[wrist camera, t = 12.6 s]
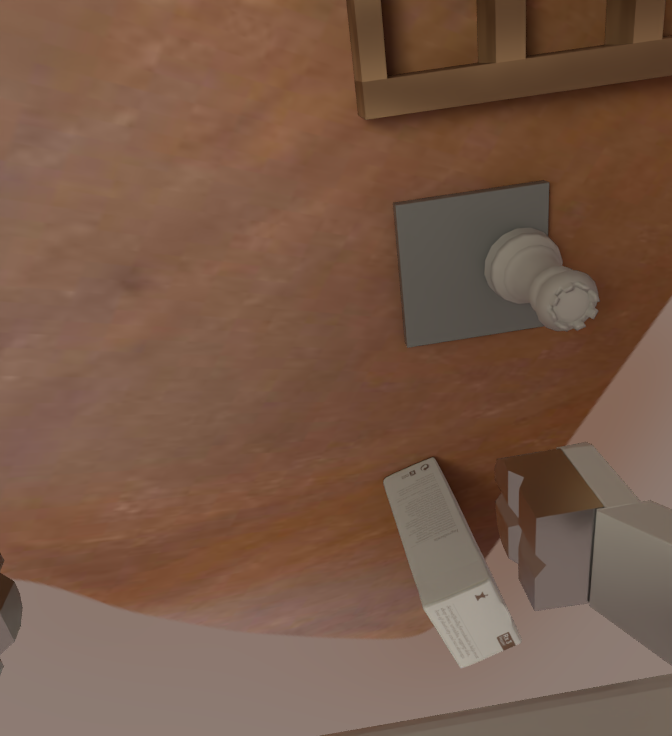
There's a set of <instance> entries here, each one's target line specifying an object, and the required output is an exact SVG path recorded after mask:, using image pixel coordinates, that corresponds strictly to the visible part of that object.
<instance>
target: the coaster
mask: <svg viewBox="0 0 672 736" xmlns="http://www.w3.org/2000/svg"><path fill="white" fill-rule="evenodd" d="M393 209H394V220H395V232H396V244H397V256H398V267H399V279H400V291H401V302H402V314H403V326H404V337H405V344H406V346H407V348H408V347H415V346H421V345H427V344H434V343H440V342H446V341H453V340H459V339H465V338H472V337H478V336H484V335H491V334H497V333H504V332H510V331H516V330H523V329H529V328H535V327H542V326H544V325H543V324H542V323H541V322H540V321H539V319H538V316H537V313H536V311H535V310H534V309H533V308H532V307H531V304H530V303H523V304H517V303H514V302H511V301H508V300H505V299H503V298H502V297H501V296H499V295H497V294H496V293H495V292H494V291H493V290H492V289H491V288H490V287H489V285H488V283H487V280H486V277H485V275H484V272H485V259H486V257H487V255H488V253H489V251H490V248H491V246H492V245H493V244H494V243H495V242H496V241H497V240H498V239H499V238H500V237H501V236H502V235H504V234H506V233H508V232H510V231H512V230H514V229H518V228H533V229H536V230H539V231H542V232H544V233H545V234H546V235H547V236H548V211H549V182H547V181H544V180H542V181H535V182H529V183H522V184H515V185H509V186H502V187H495V188H489V189H482V190H475V191H468V192H462V193H455V194H448V195H442V196H435V197H428V198H422V199H415V200H408V201H402V202H395V203H393Z"/></svg>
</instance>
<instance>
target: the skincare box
mask: <svg viewBox="0 0 672 736" xmlns="http://www.w3.org/2000/svg"><path fill="white" fill-rule="evenodd" d="M383 483H384V487H385V490H386V494H387V497H388V500H389V503H390V506H391V509H392V512H393V515H394V518H395V521H396V524H397V527H398V531H399V534H400V537H401V540H402V543H403V546H404V549H405V553H406V556H407V559H408V562H409V565H410V568H411V571H412V574H413V577H414V580H415V583H416V585H417V588H418V591H419V595H420V599H421V602H422V606H423V609H424V611H425V612H426V614H427V615H428V617H429V619H430V620H431V622H432V623H433V625H434V627H435V628H436V630H437V631H438V633H439V635H440V636H441V638H442V639H443V641H444V643H445V644H446V646H447V647H448V649H449V651H450V652H451V654H452V655H453V657H454V659H455V660H456V662H457V663H458V665H459V667H460V668H463V667H467V666H469V665H471V664H474V663H477V662H479V661H481V660H484V659H486V658H488V657H490V656H493V655H495V654H497V653H499V652H502V651H504V650H506V649H508V648H510V647H513V646H515V645H518V644H520V643H521V641H522V639H521V636H520V634H519V632H518V630H517V627H516V625H515V623H514V621H513V619H512V617H511V614H510V612H509V610H508V608H507V606H506V604H505V602H504V600H503V597H502V595H501V593H500V591H499V589H498V587H497V585H496V583H495V580H494V578H493V576H492V574H491V572H490V570H489V568H488V566H487V563H486V561H485V559H484V557H483V555H482V553H481V551H480V549H479V547H478V545H477V543H476V541H475V539H474V536H473V534H472V532H471V530H470V528H469V526H468V524H467V521H466V519H465V517H464V515H463V513H462V511H461V509H460V507H459V505H458V502H457V500H456V498H455V496H454V494H453V492H452V490H451V488H450V486H449V484H448V482H447V480H446V479H445V477H444V475H443V473H442V471H441V469H440V467H439V465H438V463H437V461H436V460H435V458H433V457H432V458H429V459H427V460H424V461H422V462H419V463H417V464H414V465H412V466H410V467H408V468H406V469H403V470H401V471H399V472H396V473H394V474H392V475H390V476H388V477H386V478H385V479H384V481H383Z"/></svg>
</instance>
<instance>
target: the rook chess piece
mask: <svg viewBox="0 0 672 736" xmlns="http://www.w3.org/2000/svg"><path fill="white" fill-rule="evenodd" d="M562 263H563V261H562V258H561V254H560V251H559V248H558V246H557V245H556V244H555V243H554V242H553V241H552V240H551V239H550V238H549V237H548V236H547V235H546V234H545V233H544V232H542V231H539V230H536V229H533V228H518V229H514V230H512V231H510V232H508V233H506V234H504V235H502V236H501V237H500V238H499V239H498V240H497V241H496V242H495V243H494V244H493V245H492V246H491V248H490V251H489V253H488V255H487V257H486V259H485V272H484V275H485V277H486V280H487V283H488V285H489V287H490V288H491V289H492V290H493V291H494V292H495V293H496V294H497V295H499V296H501V297H502V298H503V299H505V300H508V301H511V302H514V303H517V304H523V303H530V304H531V307H532V308H533V309H534V310H535V311H536V313H537V316H538V319H539V321H540V322H541V323H542V324H543V325H544V326H545V327H546V328H549V329H552V330H555V331H568V330H571V329H573V328H574V329H575V330H580V329H582V328H584V327H586V326H585V324H584V322H585V321H586V320H587V319H588V318H589V317H590V318H592V319H594V318H595V316H596V315H597V313H598V310H597V309H596V308H595V307H596V305H597V302H599V301H600V300H599V296H598V290H597V287H596V284H595V282H594V280H593V279H592V278H591V277H590V276H589V275H588V274H586V273H583V272H580V271H577V270H574V271H573V270H572V269H570V268H567V267H564V266H562Z"/></svg>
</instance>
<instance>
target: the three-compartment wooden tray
mask: <svg viewBox="0 0 672 736" xmlns="http://www.w3.org/2000/svg"><path fill="white" fill-rule="evenodd" d="M346 2H347V12H348V21H349V31H350V41H351V50H352V60H353V70H354V79H355V89H356V99H357V108H358V115H359V116H360V117H362V118H364V119H365V120H368V119H375V118H382V117H388V116H395V115H402V114H409V113H416V112H423V111H430V110H437V109H444V108H451V107H458V106H464V105H471V104H478V103H485V102H492V101H499V100H506V99H513V98H520V97H527V96H533V95H540V94H547V93H554V92H561V91H568V90H575V89H582V88H589V87H596V86H602V85H609V84H616V83H623V82H630V81H637V80H644V79H651V78H658V77H665V76H672V35H670V36H663V25H664V14H665V3H666V0H607V9H606V28H605V45H600V46H593V47H586V48H579V49H572V50H565V51H558V52H551V53H544V54H537V55H530V56H526V0H477V36H478V63H473V64H466V65H459V66H452V67H445V68H438V69H431V70H424V71H417V72H410V73H403V74H396V75H389V76H387V71H386V59H385V46H384V34H383V22H382V10H381V0H346ZM662 36H663V37H662Z"/></svg>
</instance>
